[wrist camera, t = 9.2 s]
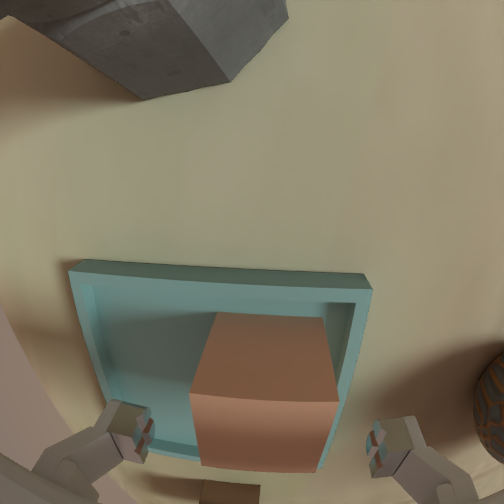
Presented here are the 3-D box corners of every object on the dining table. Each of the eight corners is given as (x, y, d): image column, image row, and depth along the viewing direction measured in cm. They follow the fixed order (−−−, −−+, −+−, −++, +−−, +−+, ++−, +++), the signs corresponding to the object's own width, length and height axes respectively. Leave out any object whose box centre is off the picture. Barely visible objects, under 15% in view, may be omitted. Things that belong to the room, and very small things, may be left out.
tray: (320, 451, 17) (321, 468, 16) (132, 430, 18) (125, 445, 17) (363, 273, 13) (372, 289, 11) (84, 259, 14) (68, 270, 12)
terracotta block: (322, 317, 13) (339, 401, 8) (309, 391, 14) (315, 472, 10) (217, 311, 13) (189, 393, 9) (220, 385, 15) (201, 465, 10)
